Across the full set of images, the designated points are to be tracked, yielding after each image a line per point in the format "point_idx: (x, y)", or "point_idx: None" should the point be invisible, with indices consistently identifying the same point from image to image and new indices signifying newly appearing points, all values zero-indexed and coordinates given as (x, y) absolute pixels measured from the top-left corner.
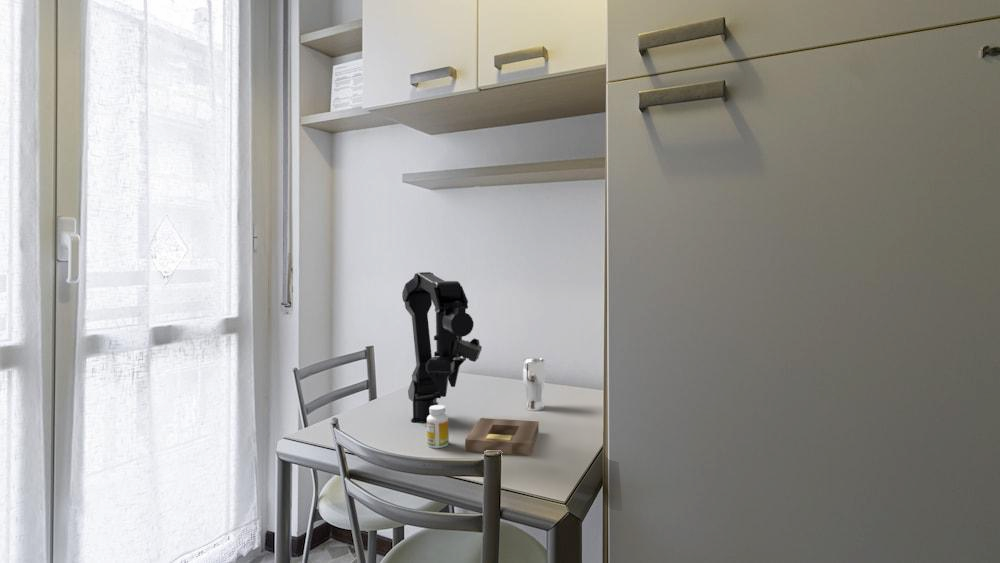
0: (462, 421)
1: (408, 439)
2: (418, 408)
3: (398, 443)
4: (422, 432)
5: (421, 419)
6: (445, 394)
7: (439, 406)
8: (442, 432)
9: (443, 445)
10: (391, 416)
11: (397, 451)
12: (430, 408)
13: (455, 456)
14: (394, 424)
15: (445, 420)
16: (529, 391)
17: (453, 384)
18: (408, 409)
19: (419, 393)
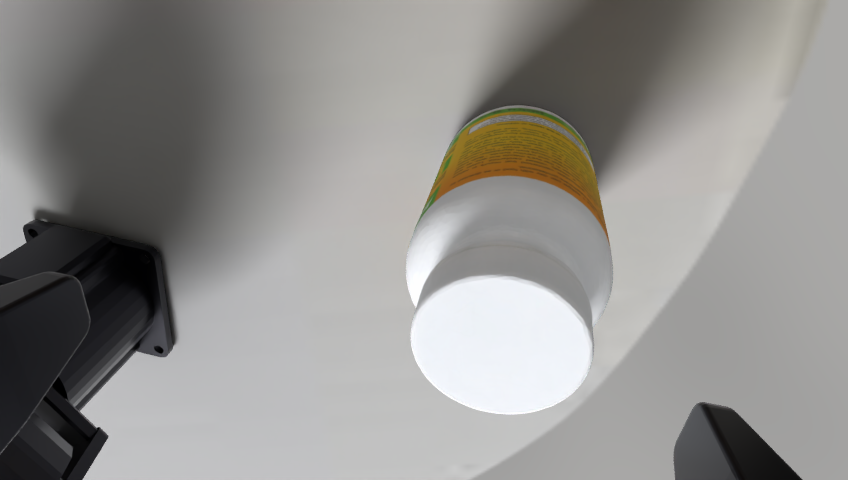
0: (58, 49)
1: None
2: (106, 370)
3: None
4: (312, 282)
5: (150, 311)
6: (764, 443)
7: (475, 331)
8: (592, 182)
9: (581, 137)
10: (126, 430)
11: (606, 376)
12: (543, 407)
13: (776, 17)
14: (225, 412)
15: (570, 201)
16: None
17: (52, 318)
18: None
19: (67, 464)
